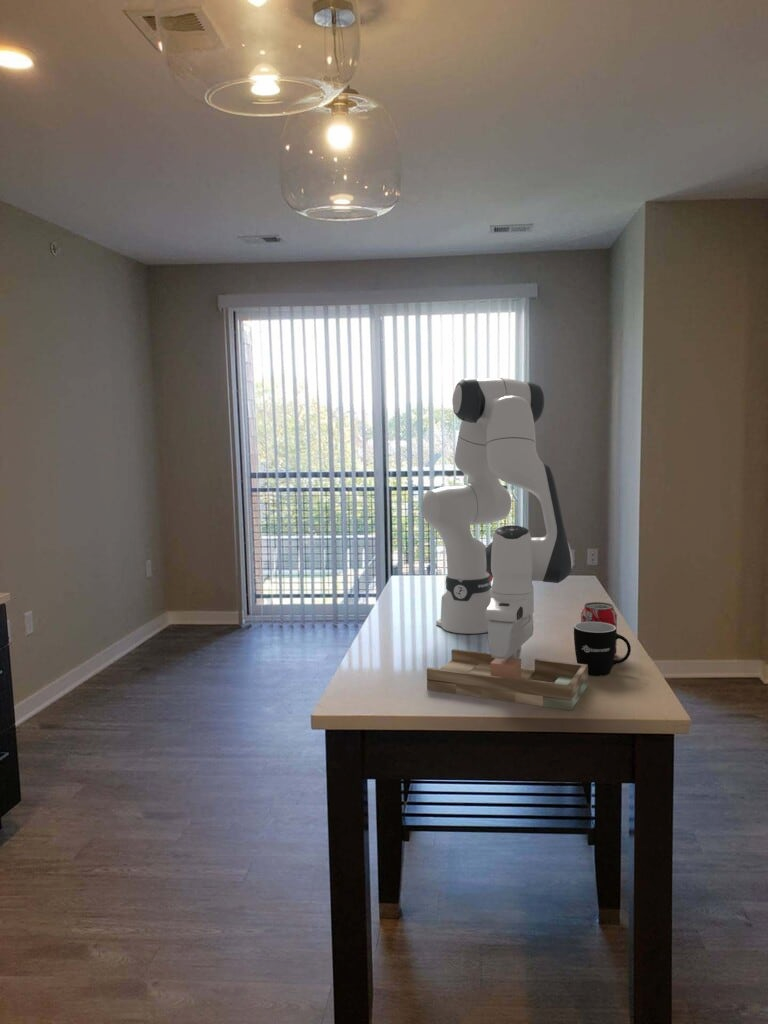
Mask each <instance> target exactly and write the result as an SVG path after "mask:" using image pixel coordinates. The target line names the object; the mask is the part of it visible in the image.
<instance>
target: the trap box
mask: <svg viewBox="0 0 768 1024" xmlns="http://www.w3.org/2000/svg"><path fill="white" fill-rule="evenodd" d="M494 659H495V658H492V657H491V654H490V652H481V651H475V650H474V651H472V650H466V649H465V650H464V649H458V648H457V649H456V648H455V649H454V648H453V649H451V659H450V660H449V661H448V662H446V664H444V665H443V666H442V667H441V668H437V667H427V668H426V690H427V691H435V692H440V693H441V692H442V693H447V694H448V693H449V694H457V695H463V696H468V697H469V696H470V697H478V698H483V699H490V700H496V701H502V702H503V701H504V702H509V703H510V702H511V703H519V704H524V705H532V706H538V707H546V708H552V709H559V710H565V711H567V710H568V711H572V710H573V709H574V707H575V706H576V704H577V703H578V701H579V699H580V698H581V696H582V695H583V694H584V692H585V690H586V689H587V688H588V686H589V683H588V681H589V675H588V665H586V664H578V663H577V662H569V661H558V660H550V659H543V658H542V659H541V658H535V659H534V668H527V667H521V678H520V679H515V678H507V677H500V676H492V675H491V669H490V663H491V662H492V661H493V660H494Z"/></svg>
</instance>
